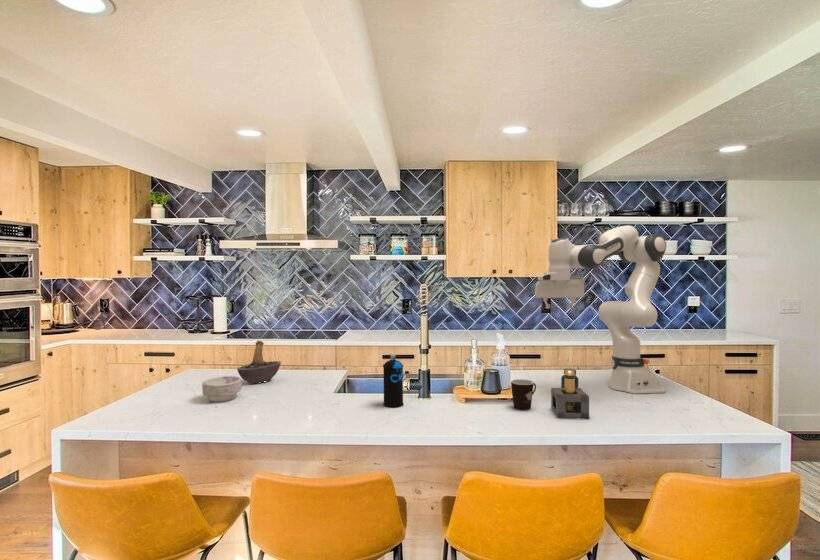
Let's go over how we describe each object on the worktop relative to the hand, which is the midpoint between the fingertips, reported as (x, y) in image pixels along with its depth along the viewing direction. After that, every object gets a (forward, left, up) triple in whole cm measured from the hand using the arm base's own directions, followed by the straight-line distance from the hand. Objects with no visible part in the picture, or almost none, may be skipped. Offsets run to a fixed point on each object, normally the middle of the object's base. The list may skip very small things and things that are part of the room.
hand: (559, 308), depth 191 cm
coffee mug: (+17, +20, -37) cm, 45 cm away
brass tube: (+2, +26, -37) cm, 45 cm away
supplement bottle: (-3, +6, -37) cm, 38 cm away
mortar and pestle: (+138, -8, -37) cm, 143 cm away
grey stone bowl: (+142, +19, -37) cm, 148 cm away
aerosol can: (+69, +21, -37) cm, 81 cm away
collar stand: (+2, +26, -37) cm, 45 cm away
